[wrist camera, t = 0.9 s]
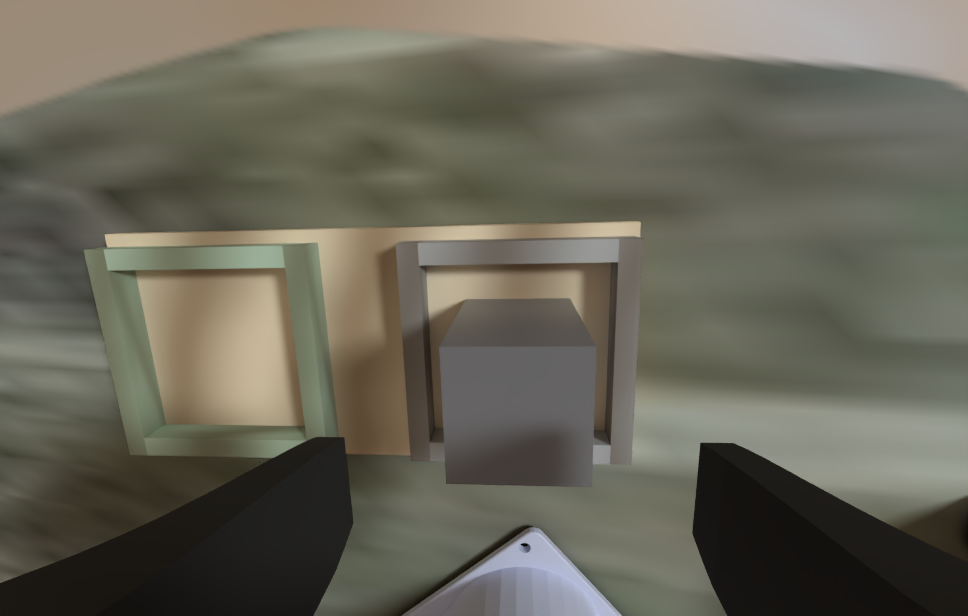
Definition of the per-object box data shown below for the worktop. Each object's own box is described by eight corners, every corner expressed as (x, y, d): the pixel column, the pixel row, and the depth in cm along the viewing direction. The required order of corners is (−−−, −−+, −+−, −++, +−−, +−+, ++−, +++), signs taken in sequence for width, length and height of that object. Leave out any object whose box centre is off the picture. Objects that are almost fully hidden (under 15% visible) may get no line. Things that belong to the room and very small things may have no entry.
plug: (570, 298, 17) (595, 346, 11) (568, 395, 18) (591, 487, 12) (466, 299, 17) (439, 346, 12) (469, 394, 18) (446, 483, 12)
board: (633, 220, 17) (650, 223, 15) (622, 446, 19) (636, 476, 17) (125, 233, 19) (75, 236, 17) (167, 439, 21) (127, 465, 19)
